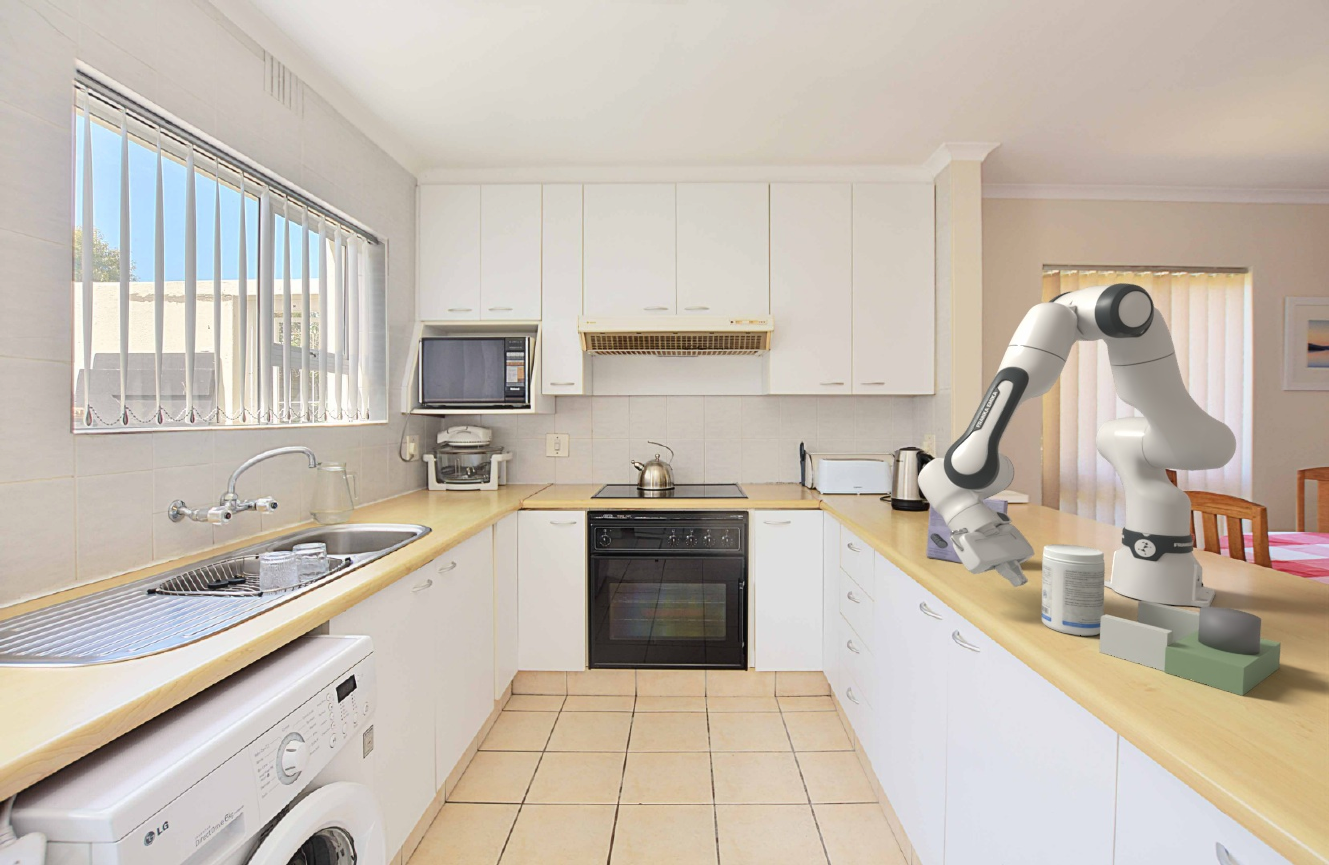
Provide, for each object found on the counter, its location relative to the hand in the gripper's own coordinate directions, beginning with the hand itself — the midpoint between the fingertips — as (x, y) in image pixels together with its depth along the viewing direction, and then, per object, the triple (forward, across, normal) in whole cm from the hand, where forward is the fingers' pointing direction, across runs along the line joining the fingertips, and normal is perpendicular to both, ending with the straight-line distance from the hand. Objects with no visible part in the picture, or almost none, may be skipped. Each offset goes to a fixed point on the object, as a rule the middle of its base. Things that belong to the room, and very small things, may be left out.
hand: (1021, 584), depth 121 cm
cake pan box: (-16, +30, +25) cm, 43 cm away
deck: (+22, 0, -14) cm, 27 cm away
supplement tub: (+11, 0, -2) cm, 11 cm away
